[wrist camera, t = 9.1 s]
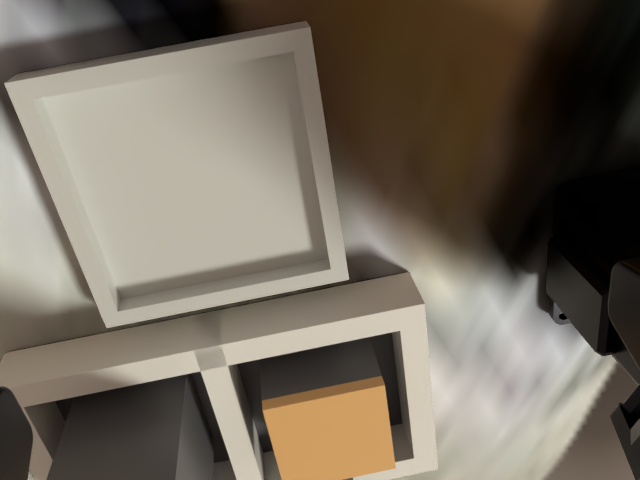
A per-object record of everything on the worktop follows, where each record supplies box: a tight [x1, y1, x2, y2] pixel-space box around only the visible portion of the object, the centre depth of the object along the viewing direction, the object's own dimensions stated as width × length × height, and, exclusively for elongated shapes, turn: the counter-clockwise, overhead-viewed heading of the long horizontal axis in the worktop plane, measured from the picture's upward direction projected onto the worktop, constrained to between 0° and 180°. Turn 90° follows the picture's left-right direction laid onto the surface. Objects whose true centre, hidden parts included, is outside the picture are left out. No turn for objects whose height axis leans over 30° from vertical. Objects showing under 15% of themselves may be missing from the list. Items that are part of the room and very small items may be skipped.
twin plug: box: [260, 337, 396, 480], centre depth 26 cm, size 4×12×4 cm, turn 9°
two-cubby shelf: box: [0, 272, 438, 480], centre depth 24 cm, size 16×9×2 cm, turn 99°
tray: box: [4, 21, 349, 328], centre depth 20 cm, size 9×9×1 cm
